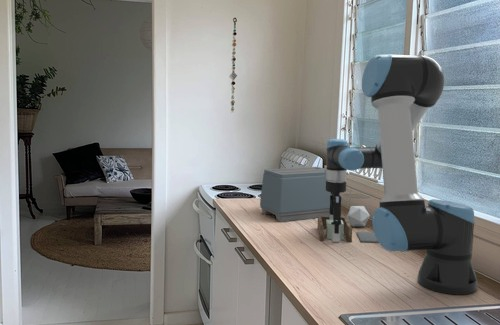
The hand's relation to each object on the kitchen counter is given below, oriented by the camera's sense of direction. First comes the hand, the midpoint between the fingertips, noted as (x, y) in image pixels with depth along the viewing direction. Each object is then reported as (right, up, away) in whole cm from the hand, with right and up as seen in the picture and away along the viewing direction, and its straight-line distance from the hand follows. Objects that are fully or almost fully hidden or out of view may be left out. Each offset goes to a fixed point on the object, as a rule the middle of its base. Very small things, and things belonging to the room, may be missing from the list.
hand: (334, 236), depth 176 cm
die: (+13, +2, +17) cm, 21 cm away
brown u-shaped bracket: (0, 0, +3) cm, 3 cm away
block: (0, 0, 0) cm, 0 cm away
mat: (+15, 0, -2) cm, 15 cm away
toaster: (-8, +4, +36) cm, 37 cm away
